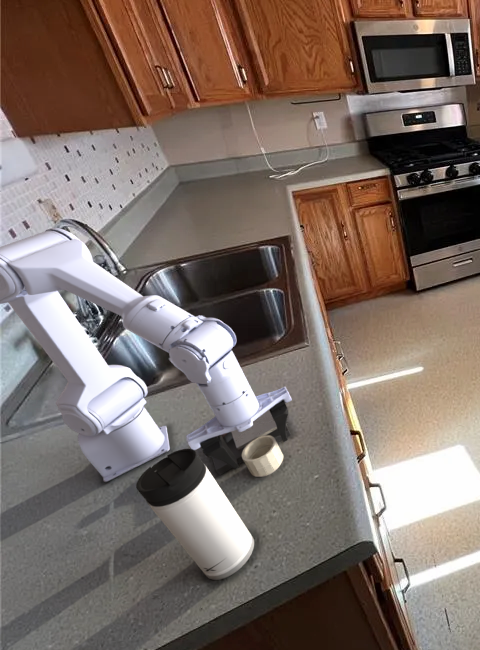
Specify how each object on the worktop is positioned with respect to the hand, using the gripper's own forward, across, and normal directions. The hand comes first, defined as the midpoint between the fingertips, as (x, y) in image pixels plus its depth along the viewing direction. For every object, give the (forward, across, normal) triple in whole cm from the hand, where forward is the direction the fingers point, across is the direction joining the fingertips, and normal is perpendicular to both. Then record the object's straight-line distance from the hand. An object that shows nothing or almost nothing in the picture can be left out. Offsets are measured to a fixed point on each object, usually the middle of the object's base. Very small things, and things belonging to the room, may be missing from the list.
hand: (260, 450), depth 71 cm
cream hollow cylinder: (+4, 0, 0) cm, 4 cm away
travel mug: (+4, -8, -13) cm, 16 cm away
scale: (+4, -1, +9) cm, 10 cm away
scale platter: (+1, +1, +8) cm, 8 cm away
